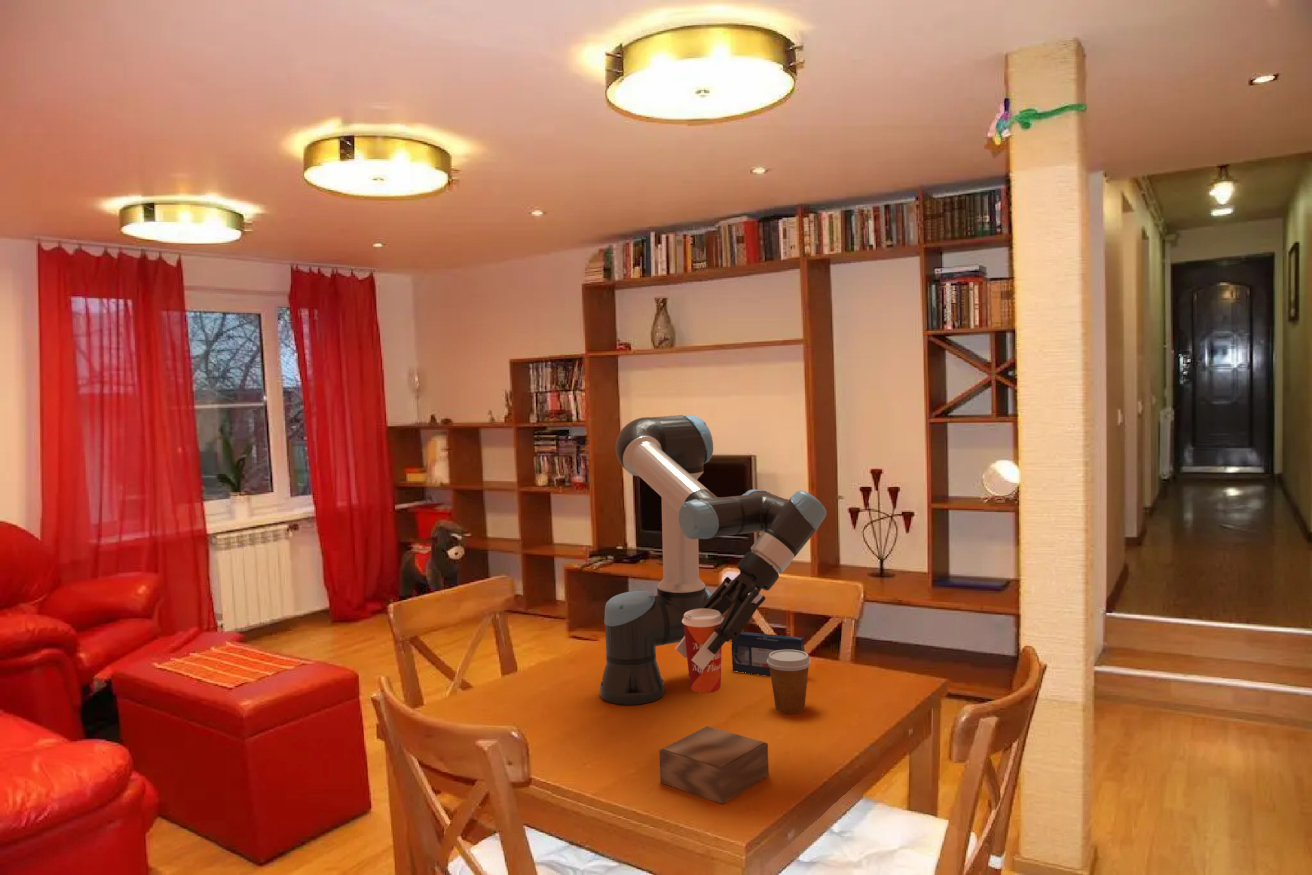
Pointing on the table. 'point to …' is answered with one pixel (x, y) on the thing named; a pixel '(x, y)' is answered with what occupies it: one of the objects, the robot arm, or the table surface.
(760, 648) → the vhs cassette tape
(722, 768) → the walnut box
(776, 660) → the disposable coffee cup
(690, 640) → the paper cup
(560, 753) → the table surface
